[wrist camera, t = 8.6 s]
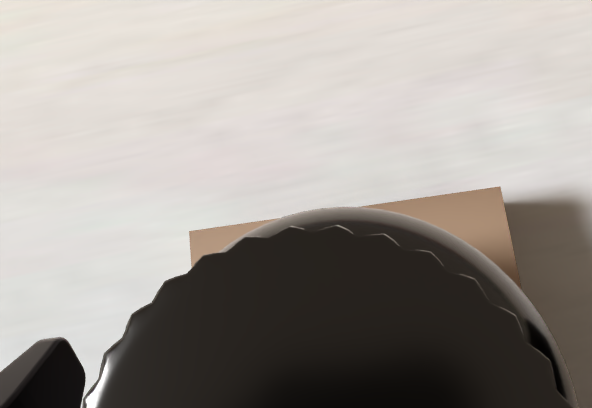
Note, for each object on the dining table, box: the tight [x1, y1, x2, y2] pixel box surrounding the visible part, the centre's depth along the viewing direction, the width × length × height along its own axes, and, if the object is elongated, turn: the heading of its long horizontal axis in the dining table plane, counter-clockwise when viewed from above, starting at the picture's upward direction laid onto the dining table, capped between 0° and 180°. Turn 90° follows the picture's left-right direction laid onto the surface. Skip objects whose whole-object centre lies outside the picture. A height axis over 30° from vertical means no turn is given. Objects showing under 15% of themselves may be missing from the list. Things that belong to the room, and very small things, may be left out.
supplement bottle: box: [83, 207, 579, 408], centre depth 11 cm, size 7×7×12 cm
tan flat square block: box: [189, 187, 522, 290], centre depth 18 cm, size 10×10×2 cm
